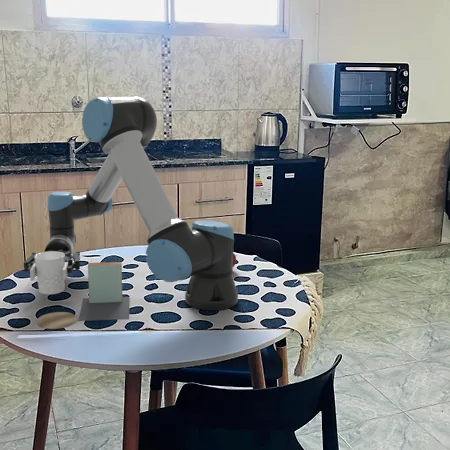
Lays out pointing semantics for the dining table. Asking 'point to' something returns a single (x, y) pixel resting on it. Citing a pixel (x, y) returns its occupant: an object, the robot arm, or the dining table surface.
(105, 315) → the mat
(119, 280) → the tile
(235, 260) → the onion
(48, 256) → the white cup
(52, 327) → the coaster
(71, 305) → the dining table surface
